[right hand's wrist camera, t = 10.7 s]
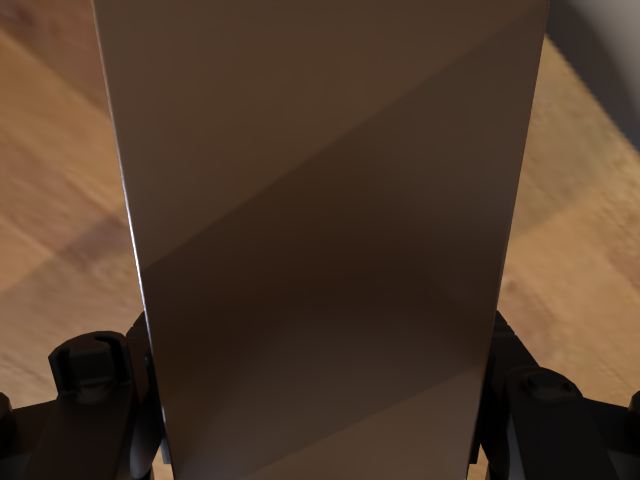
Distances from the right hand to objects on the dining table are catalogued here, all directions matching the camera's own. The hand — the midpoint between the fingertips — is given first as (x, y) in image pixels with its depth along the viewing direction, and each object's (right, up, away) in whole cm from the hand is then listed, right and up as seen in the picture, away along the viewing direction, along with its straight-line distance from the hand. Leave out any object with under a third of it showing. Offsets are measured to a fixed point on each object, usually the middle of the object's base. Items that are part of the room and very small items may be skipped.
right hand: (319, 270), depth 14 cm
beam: (0, -17, +7) cm, 18 cm away
